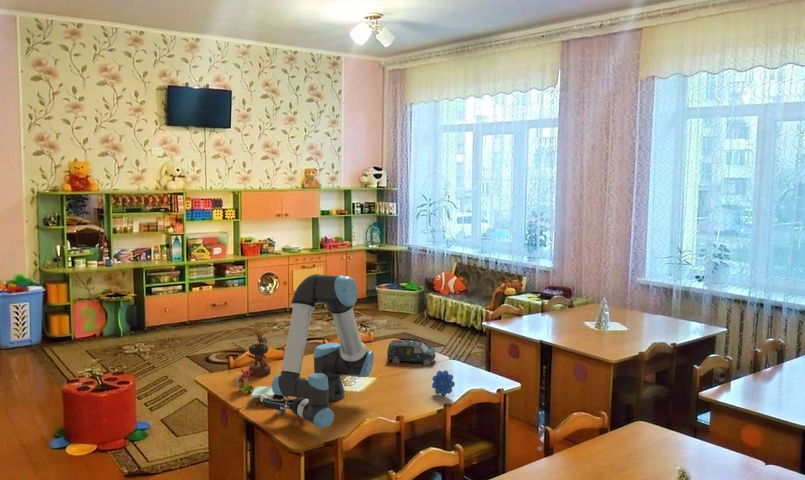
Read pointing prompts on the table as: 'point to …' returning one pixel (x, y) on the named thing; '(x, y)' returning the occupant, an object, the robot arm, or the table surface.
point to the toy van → (410, 352)
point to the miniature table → (262, 390)
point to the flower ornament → (244, 382)
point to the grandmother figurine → (279, 397)
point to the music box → (259, 358)
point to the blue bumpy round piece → (443, 383)
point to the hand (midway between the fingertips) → (275, 393)
